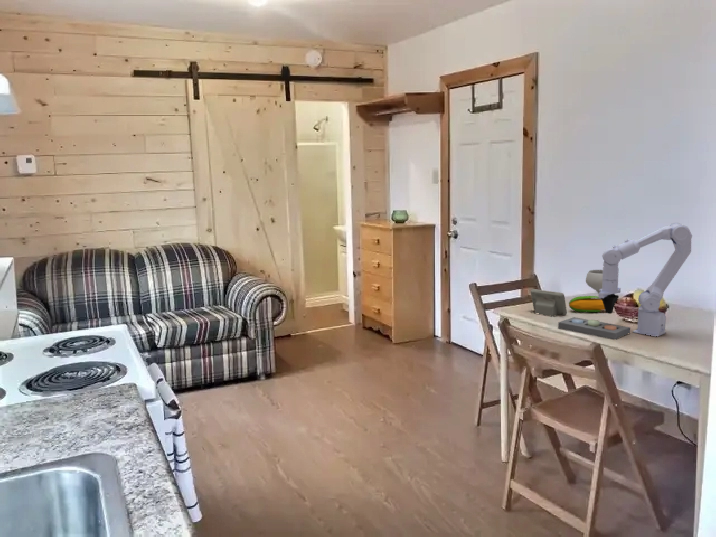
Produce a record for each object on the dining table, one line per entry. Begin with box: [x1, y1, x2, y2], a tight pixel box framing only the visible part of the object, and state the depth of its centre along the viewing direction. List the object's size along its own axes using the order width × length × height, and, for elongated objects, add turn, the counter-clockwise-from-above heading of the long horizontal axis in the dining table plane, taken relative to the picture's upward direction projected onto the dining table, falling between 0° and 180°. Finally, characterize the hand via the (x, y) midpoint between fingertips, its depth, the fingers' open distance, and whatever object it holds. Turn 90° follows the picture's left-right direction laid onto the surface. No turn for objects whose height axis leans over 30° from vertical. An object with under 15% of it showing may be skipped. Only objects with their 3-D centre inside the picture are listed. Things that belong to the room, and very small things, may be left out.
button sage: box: [587, 319, 601, 327], centre depth 247 cm, size 4×4×2 cm
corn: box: [568, 295, 605, 313], centre depth 279 cm, size 7×8×20 cm
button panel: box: [557, 316, 631, 340], centre depth 247 cm, size 24×12×2 cm, turn 41°
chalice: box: [585, 269, 603, 299], centre depth 295 cm, size 14×14×15 cm
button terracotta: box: [604, 325, 617, 330], centre depth 242 cm, size 4×4×2 cm
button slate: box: [572, 319, 583, 324], centre depth 253 cm, size 4×4×2 cm
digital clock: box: [530, 288, 568, 317], centre depth 277 cm, size 16×9×11 cm, turn 34°
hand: (608, 313), depth 246 cm, fingers closed
